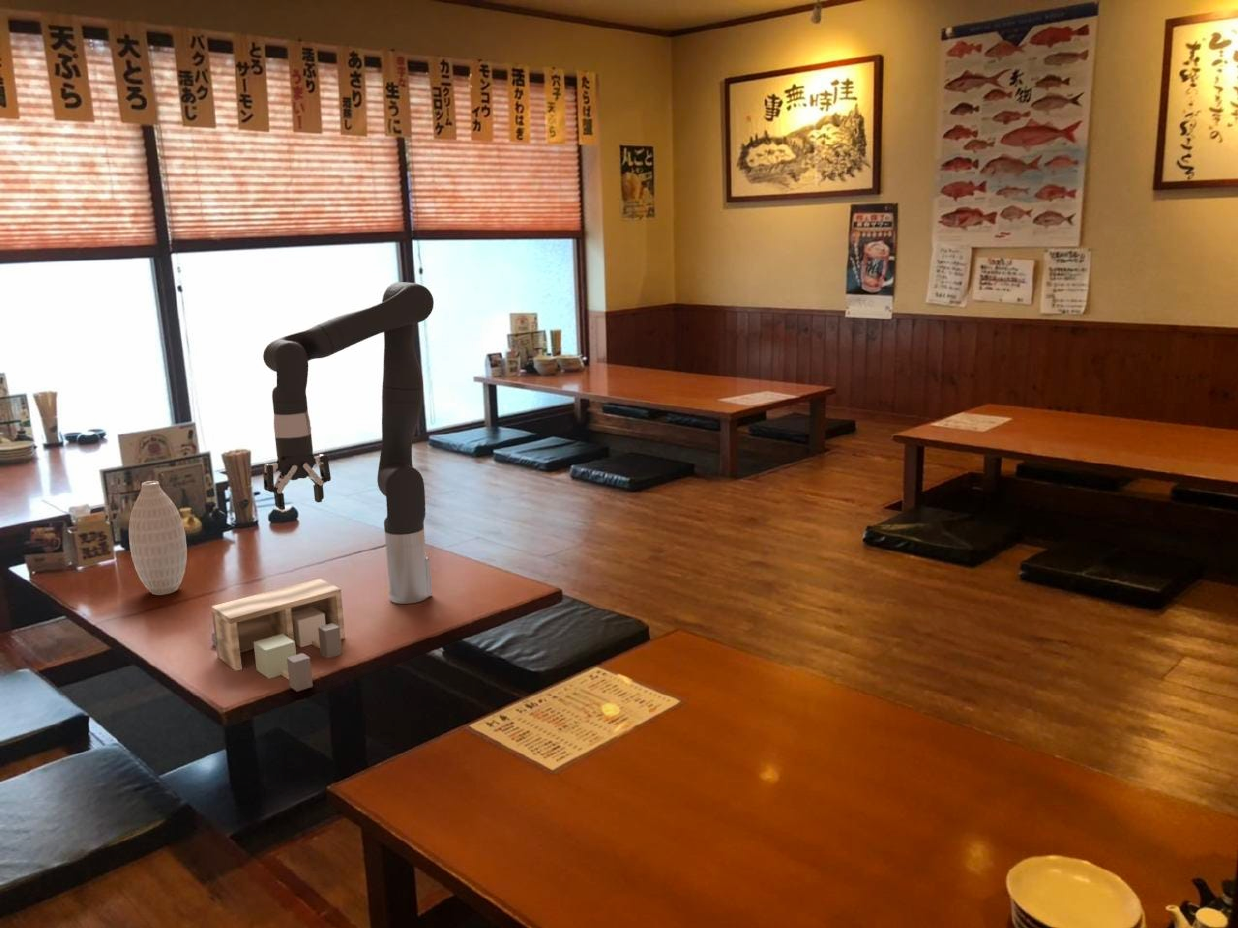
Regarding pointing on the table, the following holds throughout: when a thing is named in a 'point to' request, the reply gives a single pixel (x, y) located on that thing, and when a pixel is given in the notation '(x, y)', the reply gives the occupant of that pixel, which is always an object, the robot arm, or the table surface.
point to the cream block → (316, 631)
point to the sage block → (283, 661)
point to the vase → (157, 540)
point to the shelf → (271, 616)
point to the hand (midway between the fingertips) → (300, 505)
